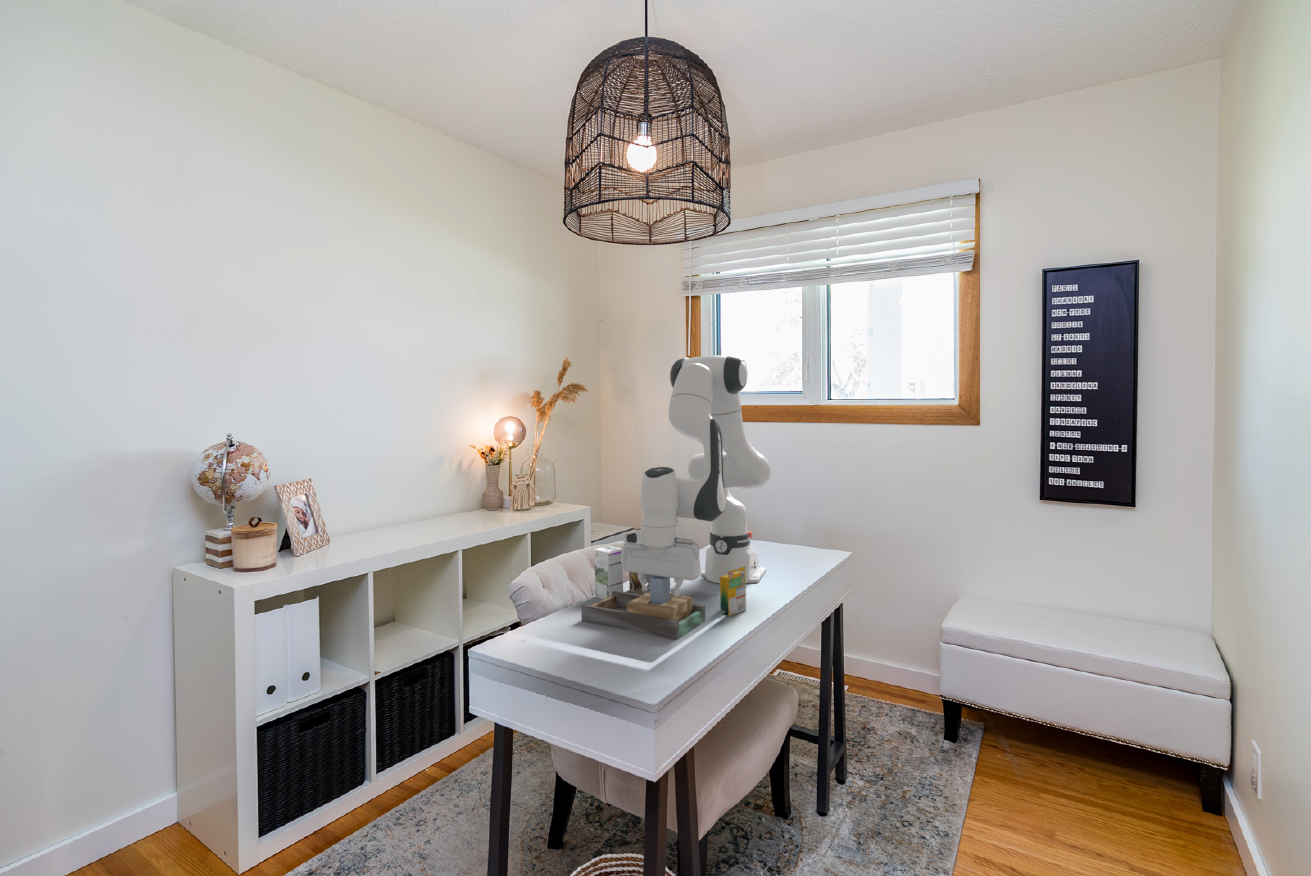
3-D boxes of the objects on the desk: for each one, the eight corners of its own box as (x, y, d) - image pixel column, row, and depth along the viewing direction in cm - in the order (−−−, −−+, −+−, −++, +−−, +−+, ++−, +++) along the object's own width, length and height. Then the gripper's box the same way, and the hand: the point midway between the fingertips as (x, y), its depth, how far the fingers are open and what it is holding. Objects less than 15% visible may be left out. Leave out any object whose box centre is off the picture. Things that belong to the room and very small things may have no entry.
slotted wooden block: (652, 613, 161) (651, 590, 161) (692, 620, 155) (692, 597, 155) (627, 627, 151) (626, 603, 151) (669, 635, 146) (669, 610, 145)
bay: (614, 609, 169) (614, 590, 168) (705, 625, 155) (704, 605, 155) (581, 625, 156) (581, 605, 156) (676, 645, 143) (676, 623, 143)
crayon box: (737, 607, 169) (737, 564, 168) (746, 610, 167) (746, 566, 166) (719, 614, 164) (719, 569, 163) (728, 616, 162) (728, 571, 161)
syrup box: (624, 599, 177) (623, 547, 176) (608, 604, 173) (607, 551, 172) (610, 595, 181) (609, 545, 180) (594, 600, 176) (593, 548, 176)
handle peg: (657, 615, 156) (657, 574, 155) (670, 617, 154) (669, 576, 153) (650, 619, 153) (649, 577, 152) (663, 621, 151) (662, 579, 150)
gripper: (705, 537, 150) (705, 596, 150) (631, 530, 160) (632, 584, 161) (692, 542, 144) (693, 603, 145) (617, 534, 155) (618, 591, 155)
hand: (660, 593), depth 153 cm, fingers open, 6 cm apart
